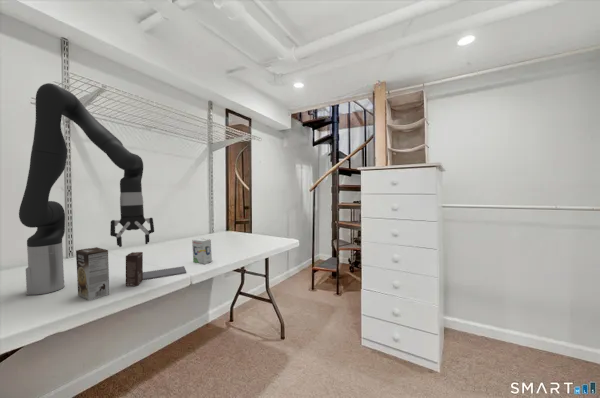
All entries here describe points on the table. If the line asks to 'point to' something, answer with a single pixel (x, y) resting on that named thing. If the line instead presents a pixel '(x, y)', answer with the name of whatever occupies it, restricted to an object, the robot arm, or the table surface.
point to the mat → (164, 273)
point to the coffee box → (92, 273)
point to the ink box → (202, 250)
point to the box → (134, 269)
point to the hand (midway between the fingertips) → (133, 245)
